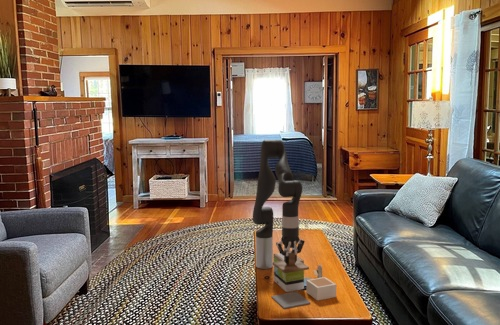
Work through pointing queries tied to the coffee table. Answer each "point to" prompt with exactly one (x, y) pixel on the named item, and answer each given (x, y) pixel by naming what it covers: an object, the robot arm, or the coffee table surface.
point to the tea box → (288, 276)
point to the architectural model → (318, 271)
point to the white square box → (321, 288)
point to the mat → (290, 300)
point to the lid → (290, 264)
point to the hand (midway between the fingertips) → (290, 262)
